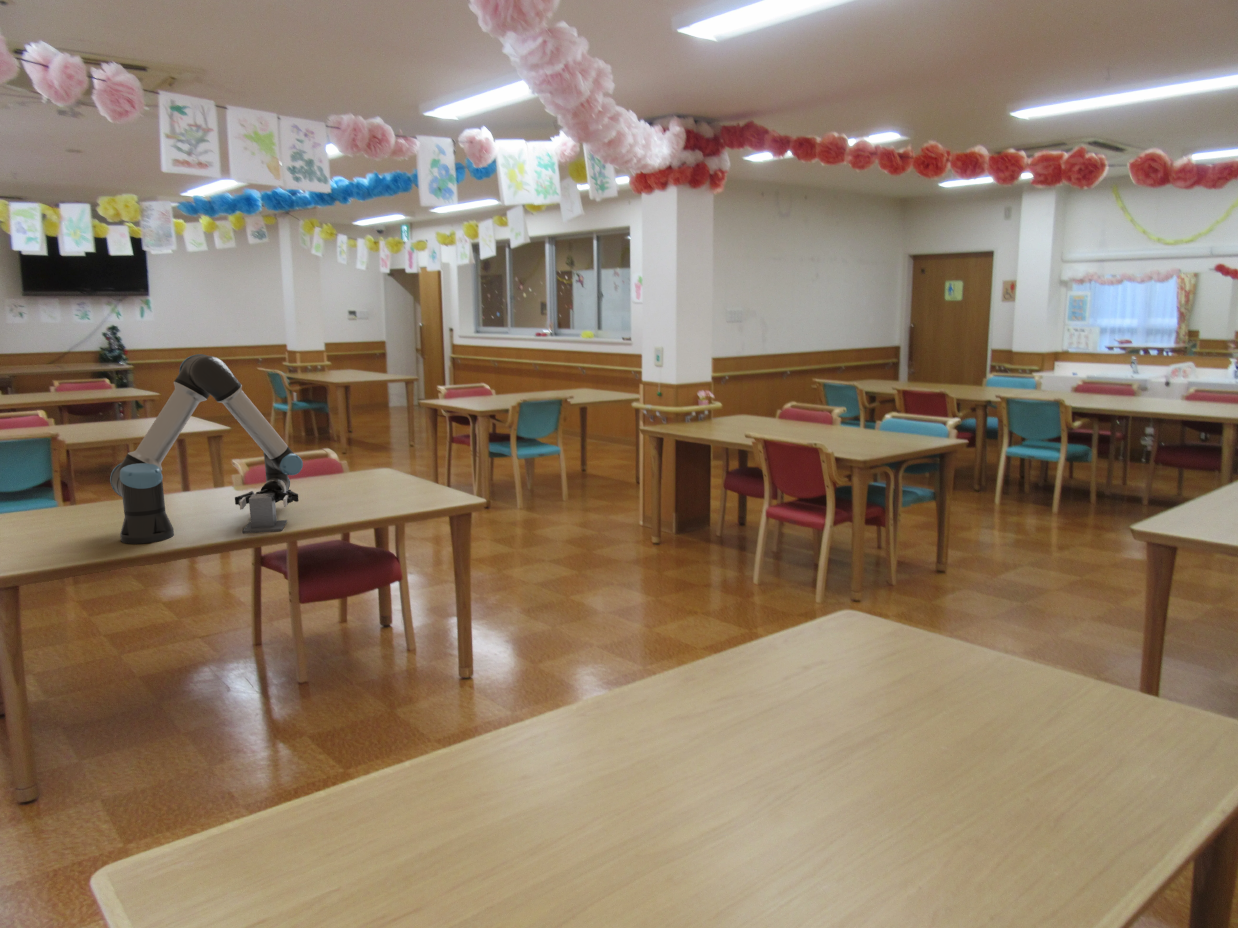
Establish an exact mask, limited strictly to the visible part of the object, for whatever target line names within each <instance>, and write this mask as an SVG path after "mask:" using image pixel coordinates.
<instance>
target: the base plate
mask: <svg viewBox="0 0 1238 928" xmlns="http://www.w3.org/2000/svg"><path fill="white" fill-rule="evenodd" d="M287 523H288V519H280V520H279V519H277V523H276V524H275V526H274V527H267V528H251V521H249V522H248V523H247V525H246V526H245V527H244V528H243V530H242V534H252V533H253V534H254V533H269V532H270V533H272V532H282V531H283V530H284V527H285V526H286V525H287Z"/></svg>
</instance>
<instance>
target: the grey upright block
mask: <svg viewBox="0 0 1238 928" xmlns="http://www.w3.org/2000/svg"><path fill="white" fill-rule="evenodd" d="M248 505H249V514H250V515H249V517H250V522H251V528H267V527H274V526H275V524H276V523H277V520H278V519H277V509H276V505H277V504H276V503H275V493H269V494H256V493H254V494H252V496H251V497H250V498H249V503H248Z"/></svg>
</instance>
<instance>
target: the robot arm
mask: <svg viewBox="0 0 1238 928" xmlns="http://www.w3.org/2000/svg"><path fill="white" fill-rule="evenodd" d="M173 385H174V390H173V391H172V394H170V396H169V398H168V400H167V401H166V403H165V404H164V406H163V407H162V409H161V410H160V412H159V413H158V415H157V417H156V418H155V420H154V422H153V423H152V425H151V426H150V428H149V429H148V431H147V432H146V433H145V435H144V437H143V438H142V439H141V441H140V443H139V444H138V446H137V448H136V449H135V450H134V451H131V452H127V454H126V455H125V457H124V459H123V460H122V462H120V463H119V464H117V465H116V466H115V467H114V468H113V469H112V471H111V473H110V478H109V482H110V486H111V487H112V490H113V491H114V493H116V494H117V495H118V496H119V497H121V498H122V505H123V513H124V518H123V522H122V527H121V531H120V542H122V543H124V544H130V545H133V544H134V545H141V544H151V543H155V542H156V543H157V542H162V541H165V540H168V539H171V538H172V537H174V536H175V532H174V527H173V525H172V522H171V520H170V518H169V516H168V514H167V512H166V506H165V505H166V502H165V493H164V483H163V479H164V478H163V477H164V476H163V474H162V472H163V466H162V462H163V461H164V459H165V457H166V456H167V455H168V453H169V451H170V450H171V448H172V447H173V445H174V444H175V442H176V441H177V439H178V438H179V435H180V434H181V433H182V431H183V429H184V428H185V426H186V424H188V421H189V420H190V418H191V416H192V415H193V413H194V412H195V411H196V409H197V407H198V406H199V404H200V403H201V402H205V401H207V400H208V398H209V397H210V396H211V397H212V398H213V399H214V401H216V403H219V404H220V403H221V404H223V406H224V407H225V408H226V410H228V412H229V413H230V414H231V415H232V416H233V418H234V419H235V420H236V421H237V422H238V423H239V424H240V426H241V427H242V428H243V429H244V430H245V432H246V433H247V435H249V436H250V437H251V438H252V440H253V441H254V442H255V443H256V445H257V446H258V447H259V448H260V449H261V450H262V451H263V452H262V453H263V460H264V469H265V483H264V485H262V487H261V488H260V490H259V491H257V492H256V493H255V492H254V491H253V490H251V491H249V492H247V493H243V494H240V495H238V496H235V497H234V503H235V505H236V506H239V510H244V509H245V507H246V506H247V505H249V498H250V497H251V496H252V494H269V493H275V504H276V503H279V502H280V501H283V502H282V503H283V508H287V507H288V505H289V504H291V503H293V502H296V503H298V502H299V494H298V493H296V492H295V491H293V490H292V489H290V488H291V487H290V486H291V480H290V478H289V476H295V475H296V476H297V475H298V474H299V473H300V472H301V471H302V469H303V466H304V462H303V459H302V458H301V457H300V456H299V455H298V454H296V453H294V452H293V450H292V449H291V448H290V447H289V445H288V444H287V443H286V442H285V440H284V439H283V438H282V437H281V436H280V434H279V433H278V432H277V430H275V428H274V427H273V426H272V425H271V423H270V422H269V421H268V420H267V418H266V417H265V416H264V415H263V414H262V412H261V411H260V410H259V409H258V407H257V406H256V405H255V404H254V403H253V402H252V400H251V399H250V398H249V397H248V395H247V394H246V393H245V392H244V390H243V385H242V383H241V382H240V381H239V380H238V378H237V377H236V376H235V374H234V373H233V372H232V371H231V369H230V368H229V366H228V365H227V364H226V363H225V362H224V361H223V360H222V359H220V358H219V357H216V356H213V355H206V354H204V353H203V354H202V353H201V354H200V353H198V354H193V355H190V356H188V357H186V358H185V359H184V360H183V361H182V362H181V363H180V365H179V371H178V375H177V377H176V378H175V380H174V381H173Z"/></svg>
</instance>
